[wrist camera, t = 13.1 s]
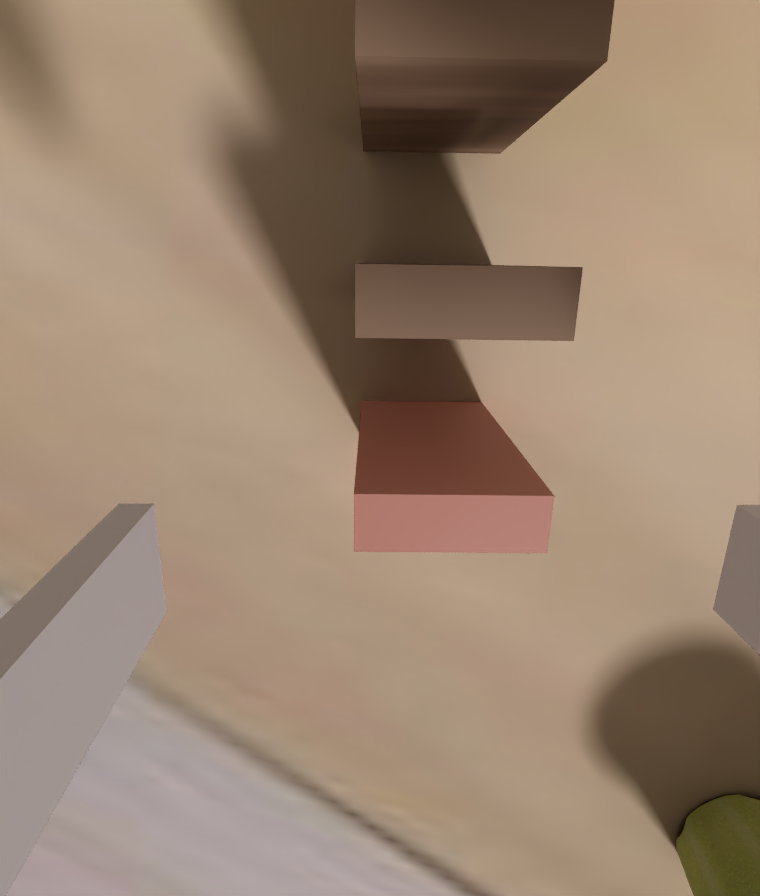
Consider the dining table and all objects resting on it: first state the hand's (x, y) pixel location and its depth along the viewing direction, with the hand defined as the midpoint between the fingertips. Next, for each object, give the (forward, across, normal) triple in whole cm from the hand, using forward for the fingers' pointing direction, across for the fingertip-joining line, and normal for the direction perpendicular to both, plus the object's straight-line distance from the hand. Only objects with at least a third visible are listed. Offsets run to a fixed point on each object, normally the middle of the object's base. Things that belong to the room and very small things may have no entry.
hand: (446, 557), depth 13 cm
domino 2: (+12, +1, +6) cm, 13 cm away
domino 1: (+12, +1, +11) cm, 16 cm away
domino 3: (+12, 0, 0) cm, 12 cm away
